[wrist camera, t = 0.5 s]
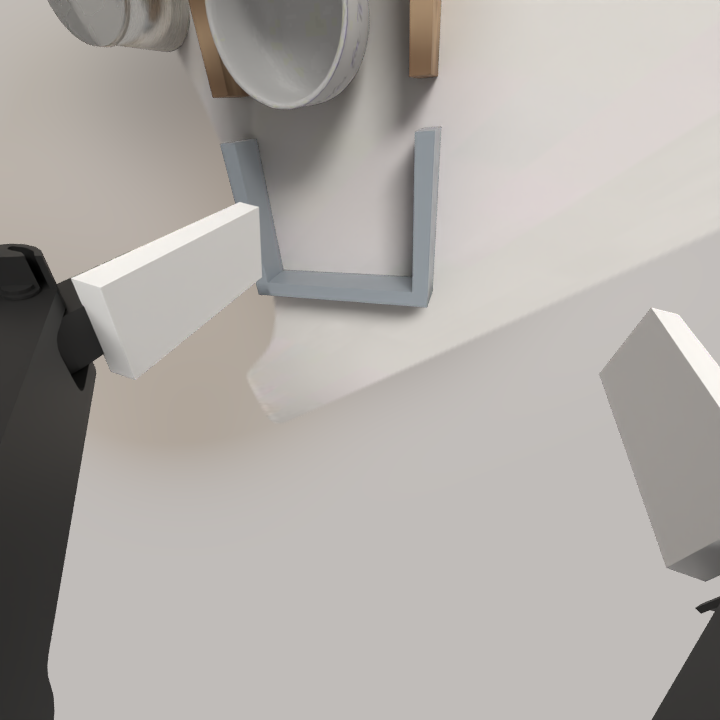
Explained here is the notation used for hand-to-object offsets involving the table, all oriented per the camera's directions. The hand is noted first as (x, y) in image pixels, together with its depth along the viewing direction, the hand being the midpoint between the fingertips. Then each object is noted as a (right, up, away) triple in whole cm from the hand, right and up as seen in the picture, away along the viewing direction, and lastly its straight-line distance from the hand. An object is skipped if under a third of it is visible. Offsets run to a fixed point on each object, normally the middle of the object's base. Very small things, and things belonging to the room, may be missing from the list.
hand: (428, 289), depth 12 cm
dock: (-4, +14, +26) cm, 29 cm away
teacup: (-5, +27, +17) cm, 32 cm away
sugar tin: (-21, +30, +20) cm, 42 cm away
